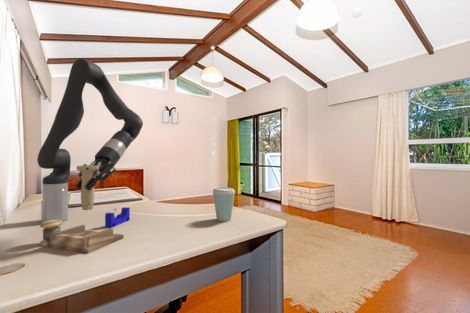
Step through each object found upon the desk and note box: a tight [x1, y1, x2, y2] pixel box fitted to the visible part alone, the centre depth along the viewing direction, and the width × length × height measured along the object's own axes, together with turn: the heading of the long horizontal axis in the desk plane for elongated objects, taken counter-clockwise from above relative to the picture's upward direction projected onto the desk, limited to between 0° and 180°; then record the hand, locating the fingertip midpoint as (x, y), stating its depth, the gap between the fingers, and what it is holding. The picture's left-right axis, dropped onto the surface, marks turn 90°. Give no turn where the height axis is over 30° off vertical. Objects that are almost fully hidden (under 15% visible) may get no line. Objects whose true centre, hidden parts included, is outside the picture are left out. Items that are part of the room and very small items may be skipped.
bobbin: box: [39, 220, 64, 247], centre depth 80 cm, size 6×6×7 cm
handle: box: [76, 165, 99, 211], centre depth 80 cm, size 5×6×15 cm
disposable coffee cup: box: [212, 186, 236, 222], centre depth 109 cm, size 11×11×15 cm
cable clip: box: [104, 207, 131, 229], centre depth 103 cm, size 12×4×6 cm, turn 170°
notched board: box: [45, 224, 125, 254], centre depth 80 cm, size 18×14×4 cm
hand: (82, 188), depth 78 cm, fingers closed on handle, 3 cm apart
